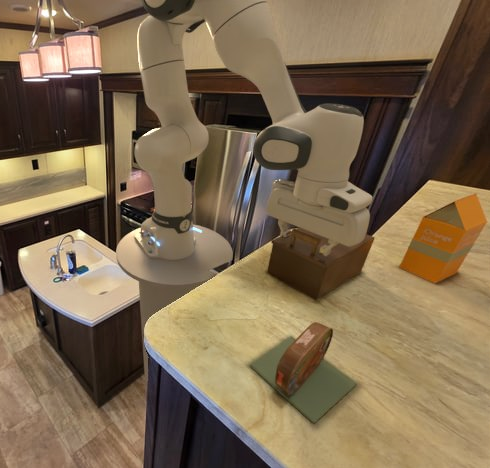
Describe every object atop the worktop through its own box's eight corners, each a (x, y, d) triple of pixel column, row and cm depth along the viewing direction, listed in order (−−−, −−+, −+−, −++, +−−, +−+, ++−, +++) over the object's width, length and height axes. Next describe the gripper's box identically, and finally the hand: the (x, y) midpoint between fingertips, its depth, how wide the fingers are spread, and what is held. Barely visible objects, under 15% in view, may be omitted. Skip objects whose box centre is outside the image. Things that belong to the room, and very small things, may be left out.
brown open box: (316, 300, 67) (327, 267, 62) (266, 272, 77) (273, 241, 72) (361, 272, 74) (373, 240, 70) (310, 250, 85) (318, 220, 80)
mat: (249, 365, 54) (249, 364, 53) (290, 337, 58) (291, 336, 58) (313, 424, 44) (314, 422, 44) (356, 385, 49) (357, 383, 49)
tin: (285, 404, 47) (296, 371, 42) (266, 390, 49) (275, 357, 45) (328, 354, 54) (341, 322, 50) (310, 343, 56) (321, 312, 52)
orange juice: (457, 273, 71) (502, 198, 62) (435, 283, 69) (479, 207, 59) (418, 257, 78) (454, 187, 68) (397, 267, 75) (431, 195, 65)
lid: (325, 268, 62) (331, 248, 59) (270, 242, 72) (274, 225, 70) (373, 240, 70) (381, 221, 67) (318, 220, 80) (323, 204, 78)
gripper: (265, 179, 67) (256, 231, 74) (365, 208, 51) (341, 270, 58) (282, 174, 69) (272, 224, 76) (383, 199, 54) (358, 260, 60)
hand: (303, 245), depth 67 cm, fingers open, 8 cm apart
